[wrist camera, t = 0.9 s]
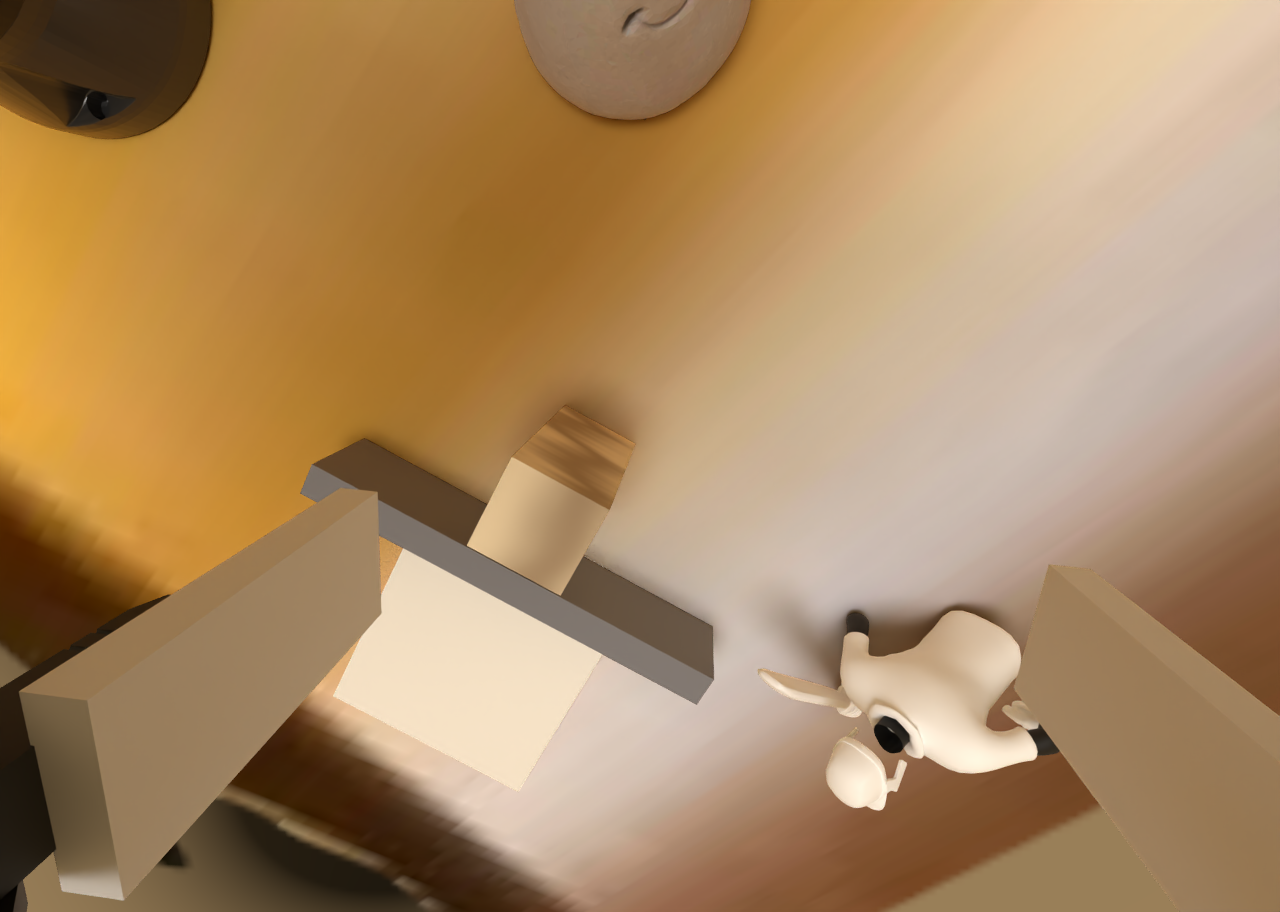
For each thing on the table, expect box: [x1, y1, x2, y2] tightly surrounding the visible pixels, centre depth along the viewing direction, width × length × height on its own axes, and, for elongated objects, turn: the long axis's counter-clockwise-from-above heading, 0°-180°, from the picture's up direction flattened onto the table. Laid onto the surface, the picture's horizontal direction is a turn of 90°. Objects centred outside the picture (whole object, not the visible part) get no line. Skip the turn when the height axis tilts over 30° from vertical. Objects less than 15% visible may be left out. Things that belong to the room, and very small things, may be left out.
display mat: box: [333, 548, 602, 792], centre depth 46 cm, size 15×15×1 cm
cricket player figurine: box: [758, 611, 1060, 810], centre depth 38 cm, size 13×10×15 cm
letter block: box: [467, 405, 635, 596], centre depth 36 cm, size 5×5×12 cm
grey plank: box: [300, 438, 714, 705], centre depth 41 cm, size 26×2×6 cm, turn 61°
